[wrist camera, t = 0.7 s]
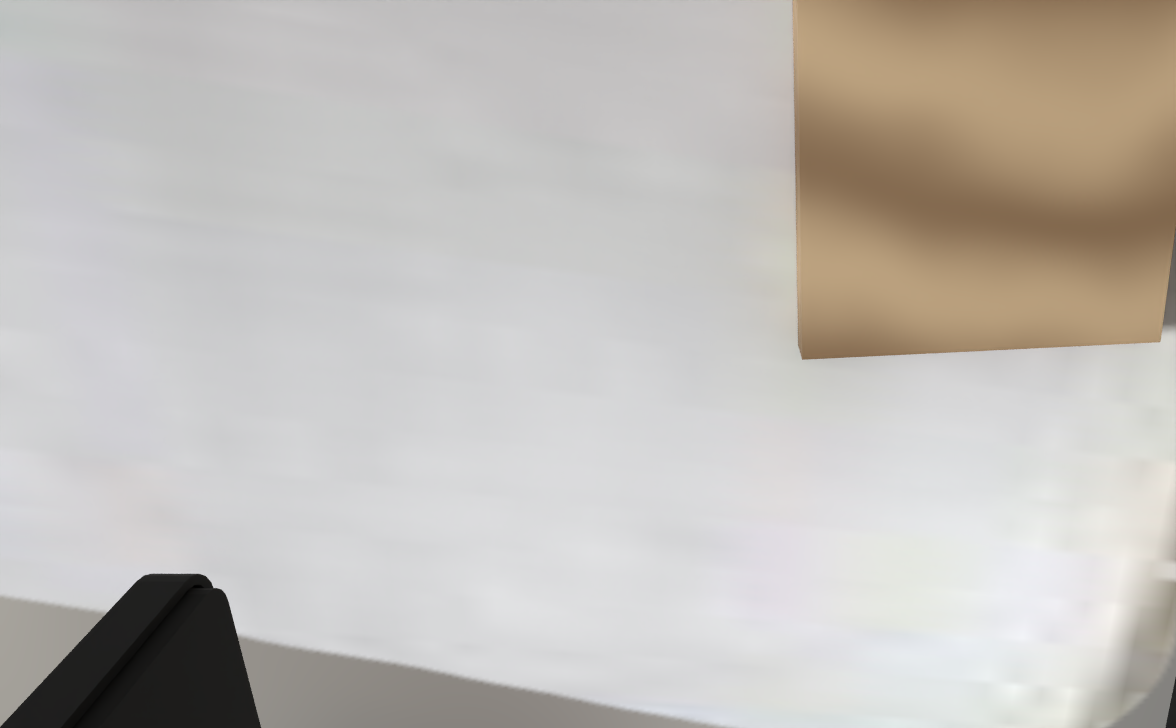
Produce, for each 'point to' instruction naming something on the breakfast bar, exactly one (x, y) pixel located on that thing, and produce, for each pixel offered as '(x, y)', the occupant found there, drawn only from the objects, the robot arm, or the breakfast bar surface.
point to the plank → (982, 173)
